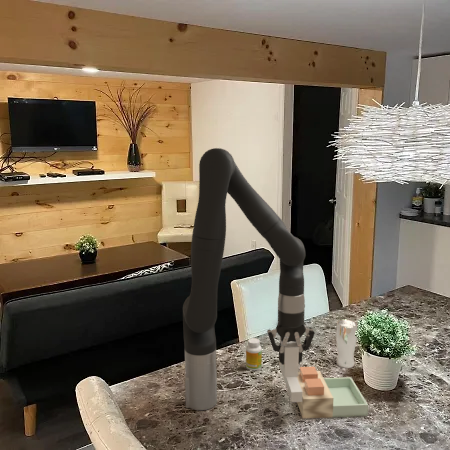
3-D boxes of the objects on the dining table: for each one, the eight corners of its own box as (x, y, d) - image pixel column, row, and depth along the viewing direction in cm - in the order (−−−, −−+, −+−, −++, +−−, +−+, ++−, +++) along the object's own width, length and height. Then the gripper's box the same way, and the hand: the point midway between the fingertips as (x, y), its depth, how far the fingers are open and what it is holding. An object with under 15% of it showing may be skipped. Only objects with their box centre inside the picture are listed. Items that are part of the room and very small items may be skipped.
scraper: (289, 402, 124) (290, 361, 122) (277, 365, 144) (278, 330, 141) (304, 401, 124) (305, 361, 122) (290, 365, 144) (290, 330, 141)
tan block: (302, 418, 128) (303, 399, 127) (292, 389, 143) (292, 371, 141) (332, 417, 128) (333, 398, 127) (319, 388, 143) (319, 370, 142)
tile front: (308, 395, 129) (308, 387, 128) (304, 386, 133) (304, 379, 132) (323, 394, 129) (324, 386, 128) (319, 386, 133) (320, 378, 133)
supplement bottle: (260, 371, 154) (260, 344, 152) (244, 370, 155) (244, 343, 153) (262, 363, 159) (262, 337, 157) (247, 362, 160) (247, 336, 158)
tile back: (302, 382, 135) (302, 374, 135) (299, 374, 140) (299, 367, 139) (317, 381, 136) (318, 374, 135) (314, 374, 140) (314, 366, 140)
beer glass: (357, 361, 160) (359, 321, 157) (353, 370, 154) (355, 328, 151) (337, 357, 163) (338, 317, 160) (333, 366, 157) (334, 325, 154)
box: (332, 417, 128) (333, 406, 128) (319, 388, 143) (319, 378, 142) (367, 416, 129) (368, 404, 128) (350, 387, 143) (351, 377, 143)
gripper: (312, 301, 133) (311, 356, 137) (264, 303, 133) (264, 357, 136) (319, 311, 126) (317, 368, 129) (268, 313, 125) (267, 370, 129)
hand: (290, 362), depth 133 cm, fingers closed on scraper, 4 cm apart
